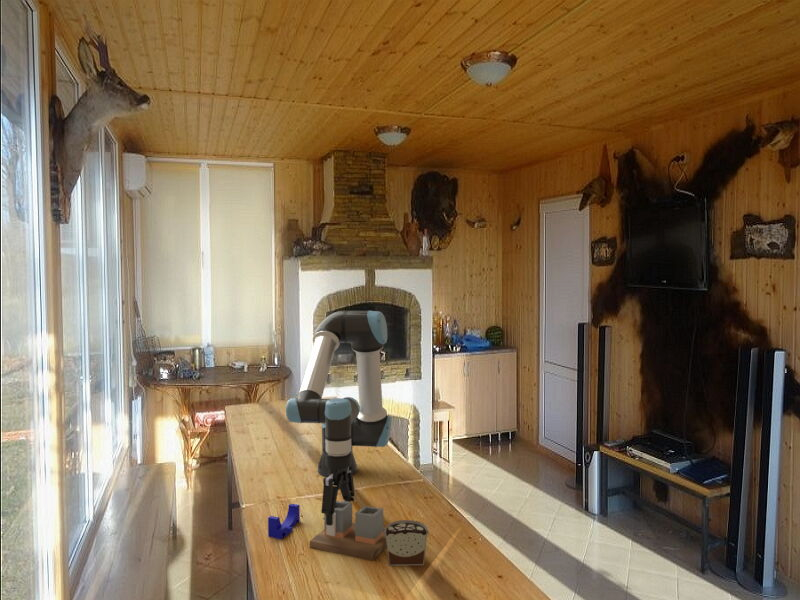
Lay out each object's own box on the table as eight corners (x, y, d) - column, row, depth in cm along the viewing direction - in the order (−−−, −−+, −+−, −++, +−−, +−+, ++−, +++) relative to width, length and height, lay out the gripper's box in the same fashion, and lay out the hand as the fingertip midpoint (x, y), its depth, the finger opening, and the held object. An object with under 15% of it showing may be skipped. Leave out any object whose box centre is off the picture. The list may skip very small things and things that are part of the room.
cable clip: (280, 540, 175) (280, 520, 175) (268, 537, 177) (268, 517, 177) (303, 524, 186) (303, 505, 186) (291, 522, 188) (291, 503, 188)
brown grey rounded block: (427, 554, 166) (427, 518, 166) (429, 565, 160) (429, 528, 160) (383, 554, 166) (383, 519, 165) (383, 565, 160) (383, 529, 159)
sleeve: (334, 526, 180) (334, 500, 179) (352, 530, 177) (352, 503, 177) (324, 534, 174) (324, 507, 174) (342, 538, 172) (342, 510, 171)
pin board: (337, 525, 185) (336, 497, 185) (396, 536, 177) (396, 507, 177) (309, 547, 170) (309, 516, 170) (373, 560, 162) (373, 528, 162)
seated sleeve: (364, 532, 176) (364, 505, 175) (383, 535, 173) (383, 508, 173) (355, 540, 170) (355, 513, 170) (374, 544, 168) (374, 516, 167)
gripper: (344, 441, 186) (344, 513, 187) (307, 461, 166) (308, 541, 167) (366, 444, 183) (366, 517, 184) (331, 464, 163) (332, 546, 164)
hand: (338, 528), depth 175 cm, fingers open, 8 cm apart
